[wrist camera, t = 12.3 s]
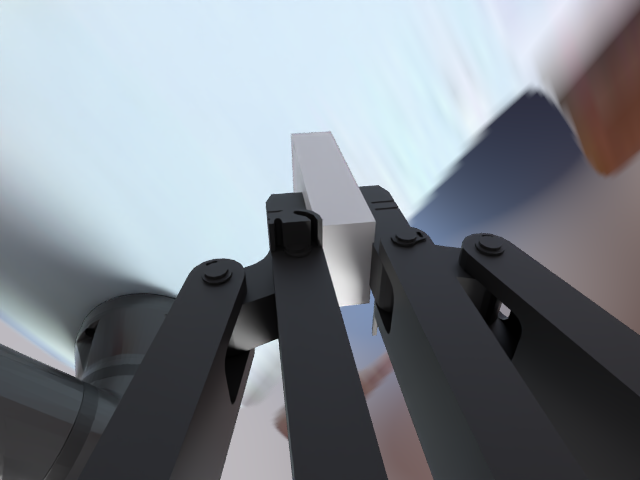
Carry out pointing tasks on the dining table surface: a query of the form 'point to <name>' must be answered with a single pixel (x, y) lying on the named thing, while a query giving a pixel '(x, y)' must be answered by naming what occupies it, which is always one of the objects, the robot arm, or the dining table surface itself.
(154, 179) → the dining table surface
